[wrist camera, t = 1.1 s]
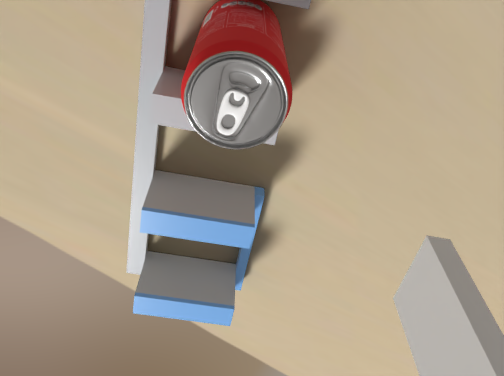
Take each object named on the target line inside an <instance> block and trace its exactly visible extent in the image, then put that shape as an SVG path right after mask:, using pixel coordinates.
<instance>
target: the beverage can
mask: <svg viewBox="0 0 504 376" xmlns="http://www.w3.org/2000/svg"><path fill="white" fill-rule="evenodd" d="M181 100H182V105H183V108H184V111H185V113H186V115H187V117H188V120H189V122H190V123H191V125H192V127H193V128H194V129H195V130H196V132H197V133H198V134H199V135H200V136H202V137H203V138H204V139H205V140H207V141H209V142H210V143H212V144H214V145H217V146H219V147H223V148H227V149H247V148H251V147H255V146H257V145H260V144H262V143H265V142H266V141H267V140H268V139H270V138H271V137H272V136H273V135H274V134H275V133H276V132H277V131H278V130H279V128H280V127H281V125H282V123H283V122H284V120H285V119H286V117H287V115H288V113H289V110H290V107H291V102H292V85H291V80H290V75H289V70H288V65H287V60H286V55H285V49H284V44H283V39H282V34H281V29H280V25H279V22H278V19H277V17H276V16H275V14H274V12H273V11H272V10H271V9H270V7H269V6H268V5H266V4H265V3H264V2H262V1H261V0H220V1H218V2H217V3H216V4H214V5H213V6H212V7H211V8H210V10H209V11H208V12H207V14H206V16H205V18H204V20H203V23H202V25H201V28H200V31H199V34H198V37H197V39H196V42H195V45H194V48H193V50H192V53H191V56H190V59H189V62H188V64H187V67H186V70H185V73H184V76H183V79H182V84H181Z"/></svg>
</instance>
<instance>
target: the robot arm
mask: <svg viewBox="0 0 504 376" xmlns="http://www.w3.org/2000/svg"><path fill="white" fill-rule="evenodd" d="M393 300H394V302H395V305H396V308H397V311H398V314H399V317H400V320H401V323H402V326H403V329H404V332H405V335H406V338H407V341H408V343H409V346H410V349H411V352H412V355H413V358H414V361H415V364H416V367H417V370H418V373H419V376H504V335H503V333H502V332H501V330H500V328H499V326H498V324H497V323H496V321H495V319H494V317H493V316H492V314H491V312H490V310H489V308H488V307H487V305H486V303H485V301H484V299H483V298H482V296H481V294H480V292H479V290H478V289H477V287H476V285H475V283H474V281H473V280H472V278H471V276H470V274H469V273H468V271H467V269H466V267H465V265H464V264H463V262H462V260H461V258H460V256H459V255H458V253H457V251H456V249H455V247H454V246H453V244H452V242H451V240H450V239H444V238H439V237H433V236H426V238H425V239H424V241H423V243H422V245H421V247H420V249H419V251H418V253H417V254H416V256H415V258H414V260H413V262H412V264H411V266H410V268H409V269H408V271H407V273H406V275H405V277H404V279H403V281H402V282H401V284H400V286H399V288H398V290H397V292H396V294H395V296H394V297H393Z"/></svg>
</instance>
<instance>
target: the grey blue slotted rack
mask: <svg viewBox="0 0 504 376" xmlns="http://www.w3.org/2000/svg"><path fill="white" fill-rule="evenodd" d="M171 1H172V0H145V7H144V22H143V37H142V51H141V66H140V81H139V96H138V111H137V125H136V140H135V155H134V170H133V185H132V199H131V214H130V229H129V244H128V259H127V273H132V274H139V275H140V278H139V282H138V285H137V289H136V292H135V296H134V307H133V313H136V314H144V315H151V316H159V317H166V318H173V319H181V320H189V321H196V322H204V323H211V324H219V325H226V326H230V324H231V320H232V316H233V312H234V302H235V290H241V287H242V283H243V279H244V275H245V271H246V267H247V263H248V259H249V255H250V251H251V247H252V244H253V240H254V236H255V232H256V228H257V224H258V220H259V216H260V212H261V208H262V204H263V200H264V197H265V196H264V188H260V187H254V186H248V185H242V184H236V183H230V182H224V181H218V180H212V179H206V178H200V177H194V176H188V175H182V174H176V173H170V172H164V171H158V170H155V166H156V156H157V145H158V135H159V125H162V126H168V127H173V128H179V129H185V130H191V131H196V130H195V129H194V128H193V127H192V125H191V123H190V122H189V120H188V117H187V115H186V113H185V111H184V108H183V105H182V100H181V84H182V79H183V76H184V73H185V70H181V69H176V68H171V67H165V63H166V53H167V42H168V32H169V22H170V11H171ZM267 1H271V2H276V3H281V4H286V5H291V6H295V7H300V8H305V9H309V7H310V3H311V0H267ZM277 134H278V131H277V132H276V133H275V134H274V135H273V136H272V137H271V138H270V139H268V140H267V141H266V142H265V144H270V145H275V142H276V138H277ZM149 234H154V235H160V236H167V237H174V238H180V239H187V240H194V241H200V242H207V243H214V244H220V245H227V246H233V247H240V250H239V254H238V258H237V262H236V264H233V263H226V262H219V261H212V260H206V259H199V258H192V257H185V256H178V255H172V254H165V253H158V252H151V251H147V249H148V238H149Z"/></svg>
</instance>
